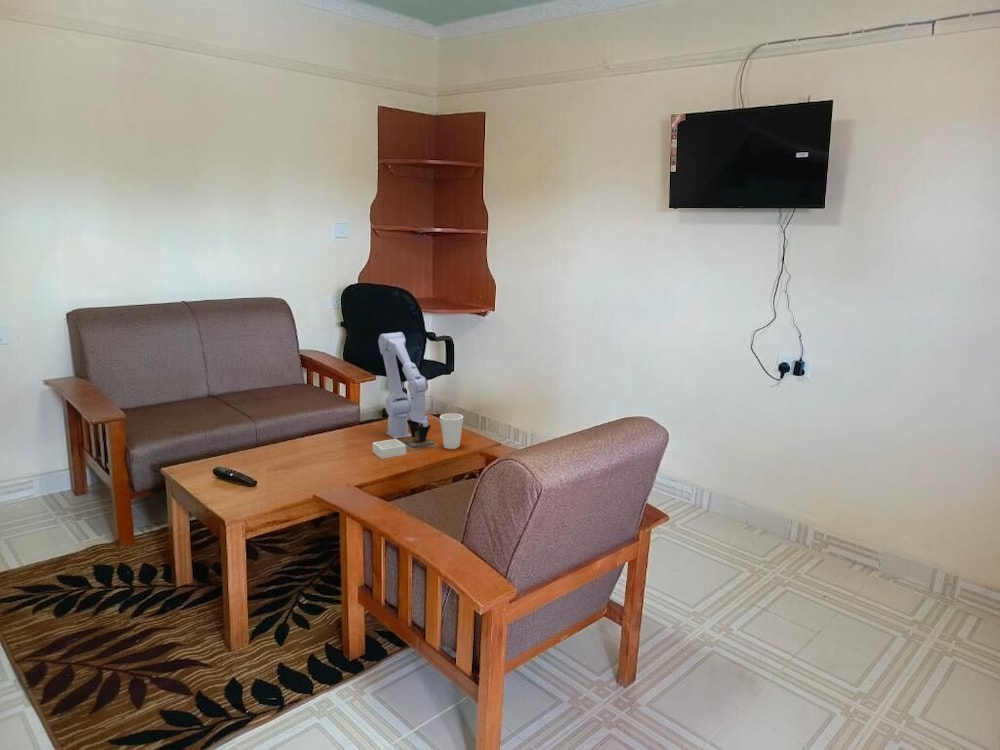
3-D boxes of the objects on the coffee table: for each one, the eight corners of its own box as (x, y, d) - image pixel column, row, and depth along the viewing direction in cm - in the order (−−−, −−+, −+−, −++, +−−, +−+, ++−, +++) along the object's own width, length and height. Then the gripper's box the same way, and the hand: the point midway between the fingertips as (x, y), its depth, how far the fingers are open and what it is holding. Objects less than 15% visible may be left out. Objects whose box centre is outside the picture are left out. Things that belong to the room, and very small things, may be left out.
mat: (399, 442, 292) (399, 441, 292) (425, 438, 298) (425, 437, 298) (411, 450, 282) (411, 449, 282) (438, 446, 288) (438, 445, 288)
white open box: (372, 452, 280) (372, 442, 279) (396, 448, 285) (395, 438, 284) (382, 459, 271) (382, 449, 270) (406, 455, 276) (406, 445, 275)
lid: (403, 442, 291) (403, 430, 290) (424, 438, 296) (424, 427, 295) (412, 448, 283) (412, 436, 282) (434, 444, 288) (434, 433, 287)
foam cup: (464, 444, 291) (464, 414, 288) (461, 451, 282) (461, 420, 279) (442, 443, 291) (441, 413, 289) (437, 450, 282) (437, 419, 280)
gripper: (435, 410, 282) (435, 442, 285) (419, 402, 294) (420, 433, 297) (418, 412, 279) (419, 445, 282) (403, 404, 291) (404, 435, 294)
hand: (418, 439), depth 289 cm, fingers open, 7 cm apart
